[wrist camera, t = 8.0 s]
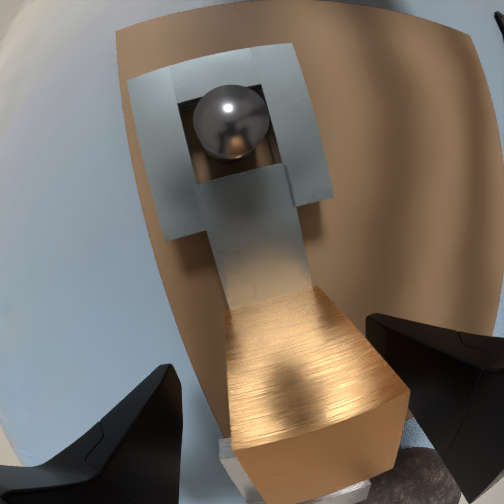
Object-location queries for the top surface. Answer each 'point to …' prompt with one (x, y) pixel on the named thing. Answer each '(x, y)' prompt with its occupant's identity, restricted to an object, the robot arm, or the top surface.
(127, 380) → the top surface
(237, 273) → the link
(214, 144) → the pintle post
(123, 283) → the top surface
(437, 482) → the dark brown tapered bulb
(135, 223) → the top surface
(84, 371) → the top surface
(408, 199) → the base board
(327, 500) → the block
